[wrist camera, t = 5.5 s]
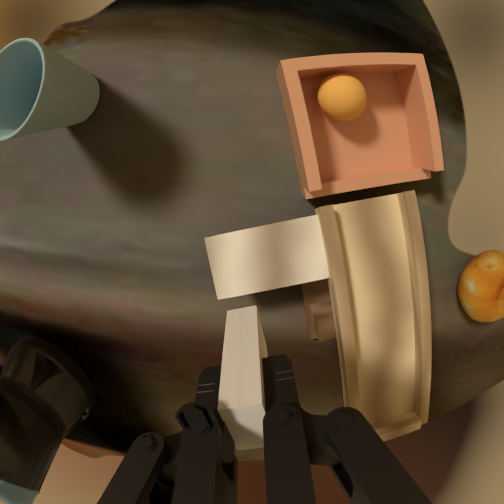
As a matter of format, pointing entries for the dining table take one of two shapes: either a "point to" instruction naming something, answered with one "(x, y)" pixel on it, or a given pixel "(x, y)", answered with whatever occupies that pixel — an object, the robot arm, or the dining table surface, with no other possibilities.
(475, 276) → the fruit
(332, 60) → the dish
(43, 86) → the cup
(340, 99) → the ball
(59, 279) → the dining table surface
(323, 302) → the fulcrum
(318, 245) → the lever
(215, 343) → the dining table surface
